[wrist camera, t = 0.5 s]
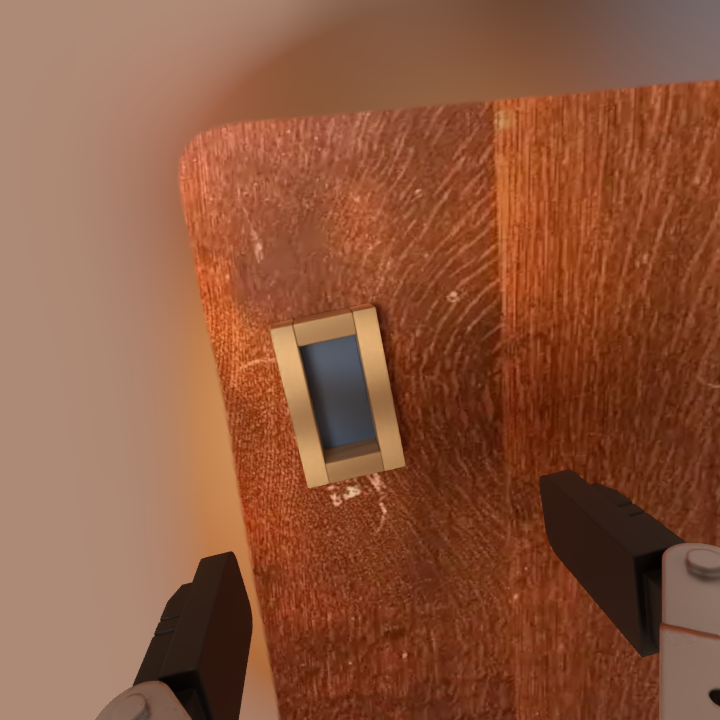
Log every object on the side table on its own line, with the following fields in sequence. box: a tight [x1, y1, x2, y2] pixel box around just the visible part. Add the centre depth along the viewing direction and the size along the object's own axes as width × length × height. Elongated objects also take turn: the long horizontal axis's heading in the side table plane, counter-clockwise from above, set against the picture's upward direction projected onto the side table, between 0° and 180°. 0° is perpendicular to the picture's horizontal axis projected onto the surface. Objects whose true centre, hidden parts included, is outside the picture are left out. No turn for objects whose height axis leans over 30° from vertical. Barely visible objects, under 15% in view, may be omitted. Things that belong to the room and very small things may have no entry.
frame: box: [270, 303, 405, 488], centre depth 27 cm, size 9×6×2 cm, turn 11°
